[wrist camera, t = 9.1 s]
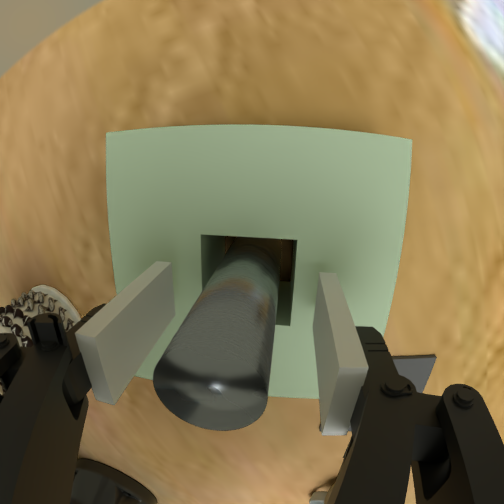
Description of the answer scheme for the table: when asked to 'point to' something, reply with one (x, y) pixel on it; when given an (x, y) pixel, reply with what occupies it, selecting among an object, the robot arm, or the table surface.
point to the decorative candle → (35, 313)
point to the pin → (226, 342)
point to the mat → (413, 370)
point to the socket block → (262, 220)
